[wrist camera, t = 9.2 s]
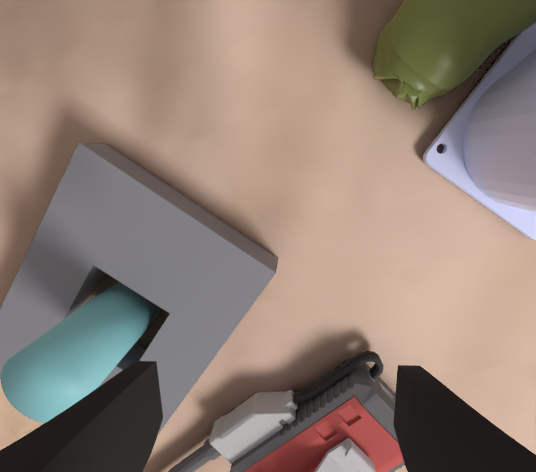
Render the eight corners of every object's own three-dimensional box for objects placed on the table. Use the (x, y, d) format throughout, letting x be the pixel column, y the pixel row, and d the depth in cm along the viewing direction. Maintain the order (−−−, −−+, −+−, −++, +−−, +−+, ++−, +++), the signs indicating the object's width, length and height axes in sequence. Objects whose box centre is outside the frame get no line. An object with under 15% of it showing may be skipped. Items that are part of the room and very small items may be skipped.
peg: (107, 274, 21) (-5, 346, 13) (160, 280, 20) (79, 356, 13) (109, 323, 22) (6, 417, 14) (160, 329, 21) (84, 428, 14)
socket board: (106, 144, 19) (78, 142, 16) (278, 258, 19) (275, 272, 17) (8, 341, 23) (-26, 364, 20) (154, 429, 23) (138, 460, 21)
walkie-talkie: (347, 316, 20) (145, 468, 25) (361, 358, 16) (114, 533, 21) (432, 407, 22) (224, 537, 26) (466, 469, 17) (210, 612, 22)
